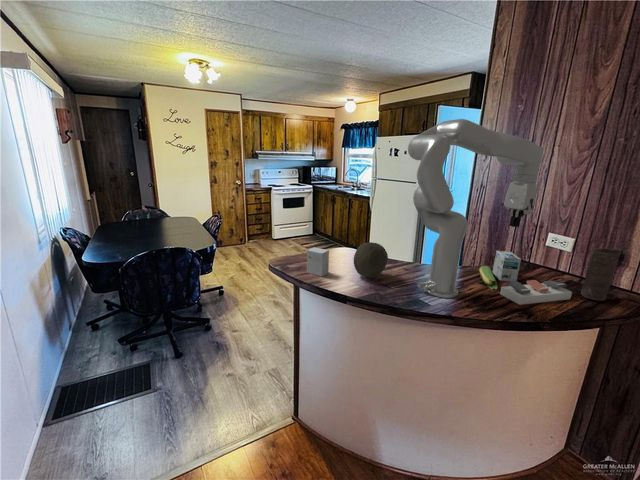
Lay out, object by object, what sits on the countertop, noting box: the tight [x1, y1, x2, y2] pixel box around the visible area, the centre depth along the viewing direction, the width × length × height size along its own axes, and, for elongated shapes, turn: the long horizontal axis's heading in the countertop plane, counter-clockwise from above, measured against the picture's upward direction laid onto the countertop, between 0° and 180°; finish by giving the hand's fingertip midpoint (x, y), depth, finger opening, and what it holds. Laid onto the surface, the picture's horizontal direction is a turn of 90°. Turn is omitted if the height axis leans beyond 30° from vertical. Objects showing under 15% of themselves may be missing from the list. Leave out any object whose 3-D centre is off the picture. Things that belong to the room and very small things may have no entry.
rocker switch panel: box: [499, 282, 573, 306], centre depth 118 cm, size 24×9×4 cm, turn 104°
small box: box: [306, 247, 330, 277], centre depth 134 cm, size 8×6×10 cm
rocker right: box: [542, 280, 568, 288], centre depth 120 cm, size 4×6×1 cm, turn 14°
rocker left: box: [508, 281, 531, 294], centre depth 115 cm, size 4×6×1 cm, turn 14°
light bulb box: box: [492, 250, 522, 283], centre depth 136 cm, size 11×7×11 cm, turn 168°
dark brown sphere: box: [353, 241, 389, 280], centre depth 131 cm, size 14×14×15 cm
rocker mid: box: [526, 279, 549, 292], centre depth 117 cm, size 4×6×1 cm, turn 14°
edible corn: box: [477, 265, 498, 290], centre depth 131 cm, size 5×20×5 cm
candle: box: [580, 247, 621, 301], centre depth 116 cm, size 8×7×20 cm
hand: (514, 226), depth 122 cm, fingers closed
